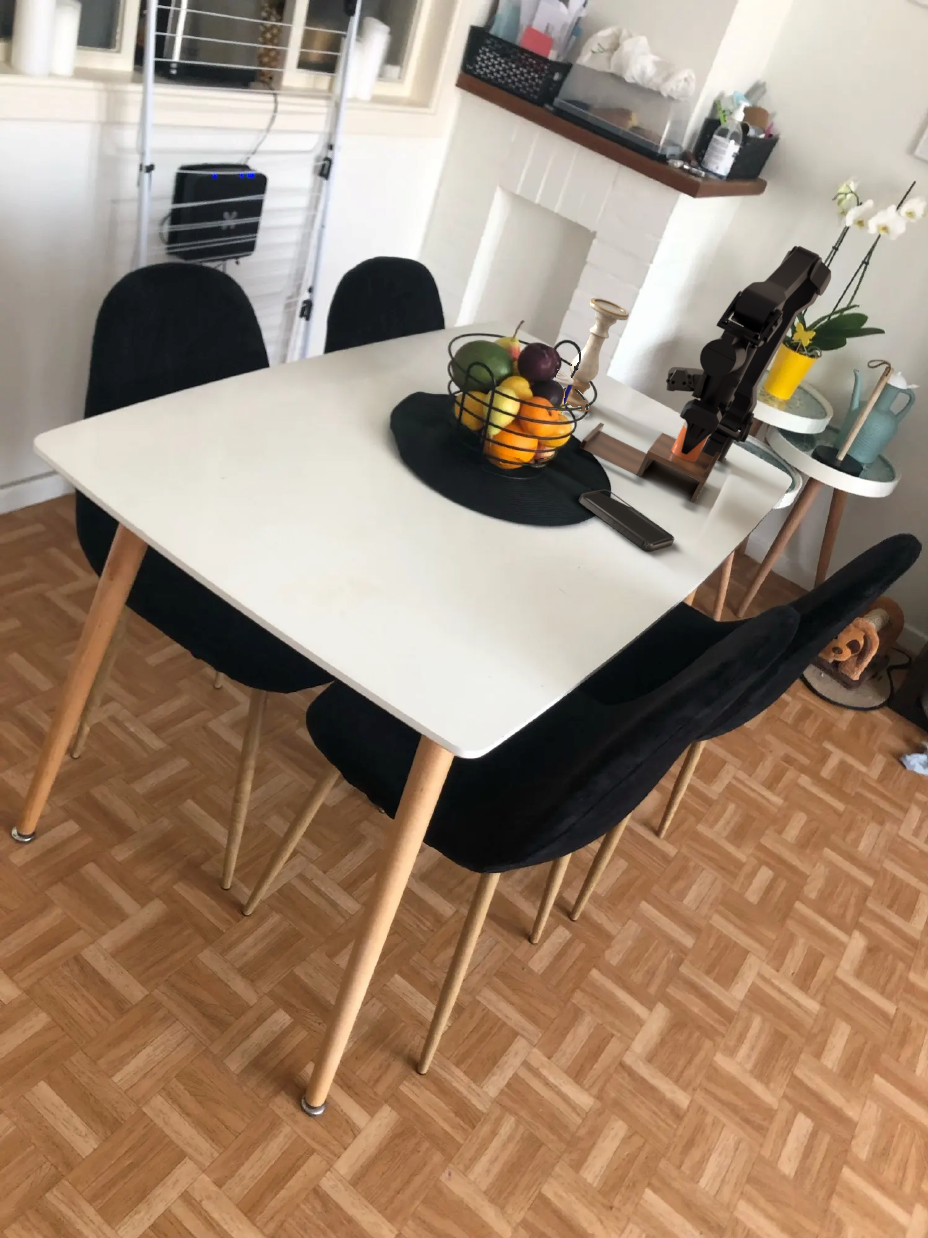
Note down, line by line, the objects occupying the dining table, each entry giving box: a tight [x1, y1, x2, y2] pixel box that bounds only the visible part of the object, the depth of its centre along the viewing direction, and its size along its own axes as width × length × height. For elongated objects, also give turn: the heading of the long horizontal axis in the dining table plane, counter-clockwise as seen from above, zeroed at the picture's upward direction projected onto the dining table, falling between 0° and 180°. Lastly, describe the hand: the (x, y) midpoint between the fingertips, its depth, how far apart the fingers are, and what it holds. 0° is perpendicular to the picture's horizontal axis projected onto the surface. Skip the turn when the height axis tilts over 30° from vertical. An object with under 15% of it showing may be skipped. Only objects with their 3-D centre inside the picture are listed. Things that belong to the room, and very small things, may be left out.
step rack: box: [579, 422, 721, 504], centre depth 177 cm, size 12×22×7 cm, turn 66°
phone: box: [578, 488, 675, 552], centre depth 158 cm, size 8×1×15 cm
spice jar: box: [671, 420, 710, 462], centre depth 174 cm, size 5×5×6 cm
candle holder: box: [566, 297, 630, 413], centre depth 188 cm, size 9×9×20 cm
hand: (686, 449), depth 175 cm, fingers closed on spice jar, 5 cm apart
